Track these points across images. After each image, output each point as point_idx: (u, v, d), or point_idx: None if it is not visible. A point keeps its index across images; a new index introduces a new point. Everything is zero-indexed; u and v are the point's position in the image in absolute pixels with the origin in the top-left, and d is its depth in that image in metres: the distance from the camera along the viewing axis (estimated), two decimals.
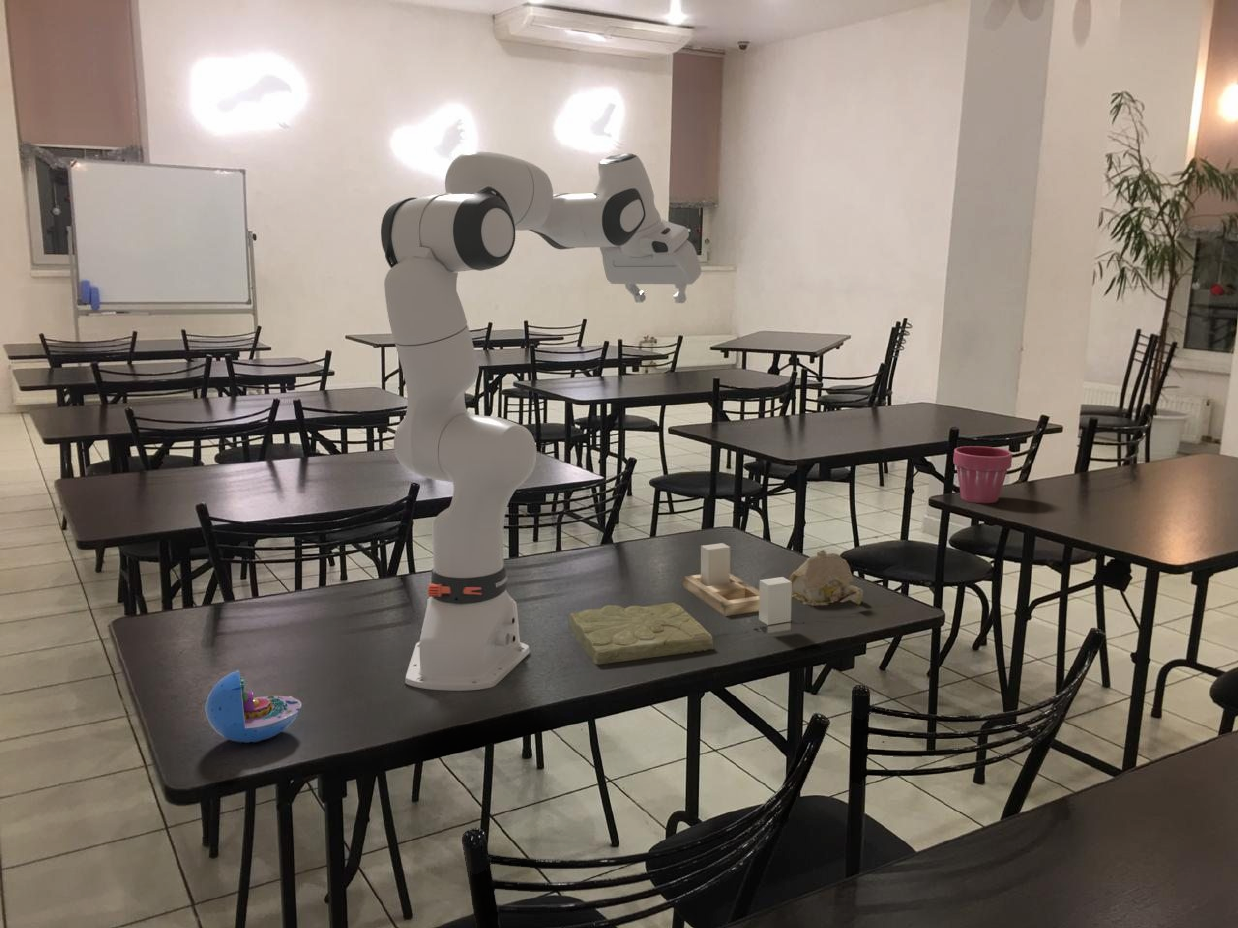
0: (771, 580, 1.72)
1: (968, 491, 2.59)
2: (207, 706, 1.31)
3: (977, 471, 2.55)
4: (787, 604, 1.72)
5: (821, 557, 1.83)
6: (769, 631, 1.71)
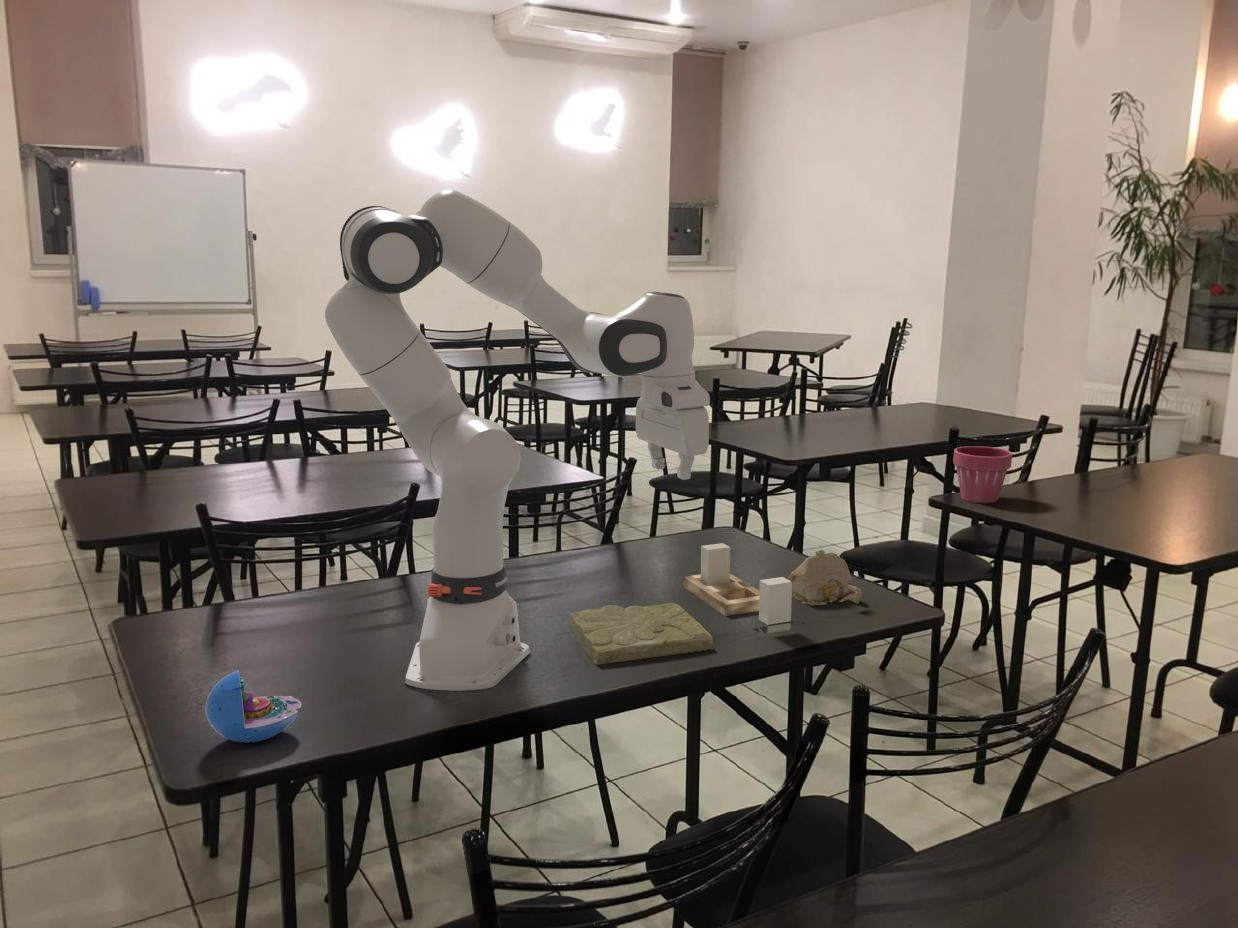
0: (771, 580, 1.72)
1: (968, 491, 2.59)
2: (207, 706, 1.31)
3: (977, 471, 2.55)
4: (787, 604, 1.72)
5: (820, 557, 1.84)
6: (769, 631, 1.71)
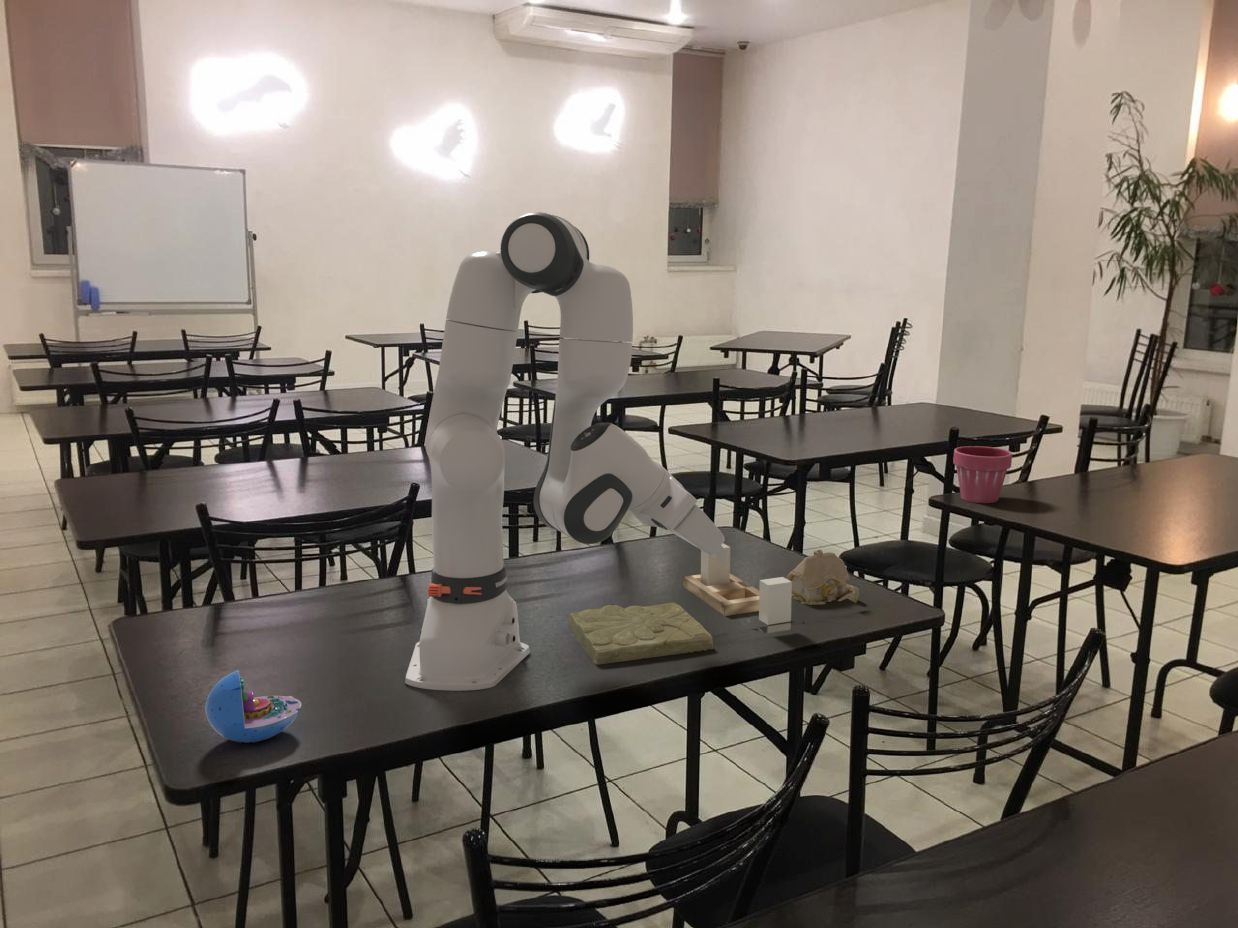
0: (771, 580, 1.72)
1: (968, 491, 2.59)
2: (207, 706, 1.31)
3: (977, 471, 2.55)
4: (787, 604, 1.72)
5: (818, 556, 1.84)
6: (769, 631, 1.71)
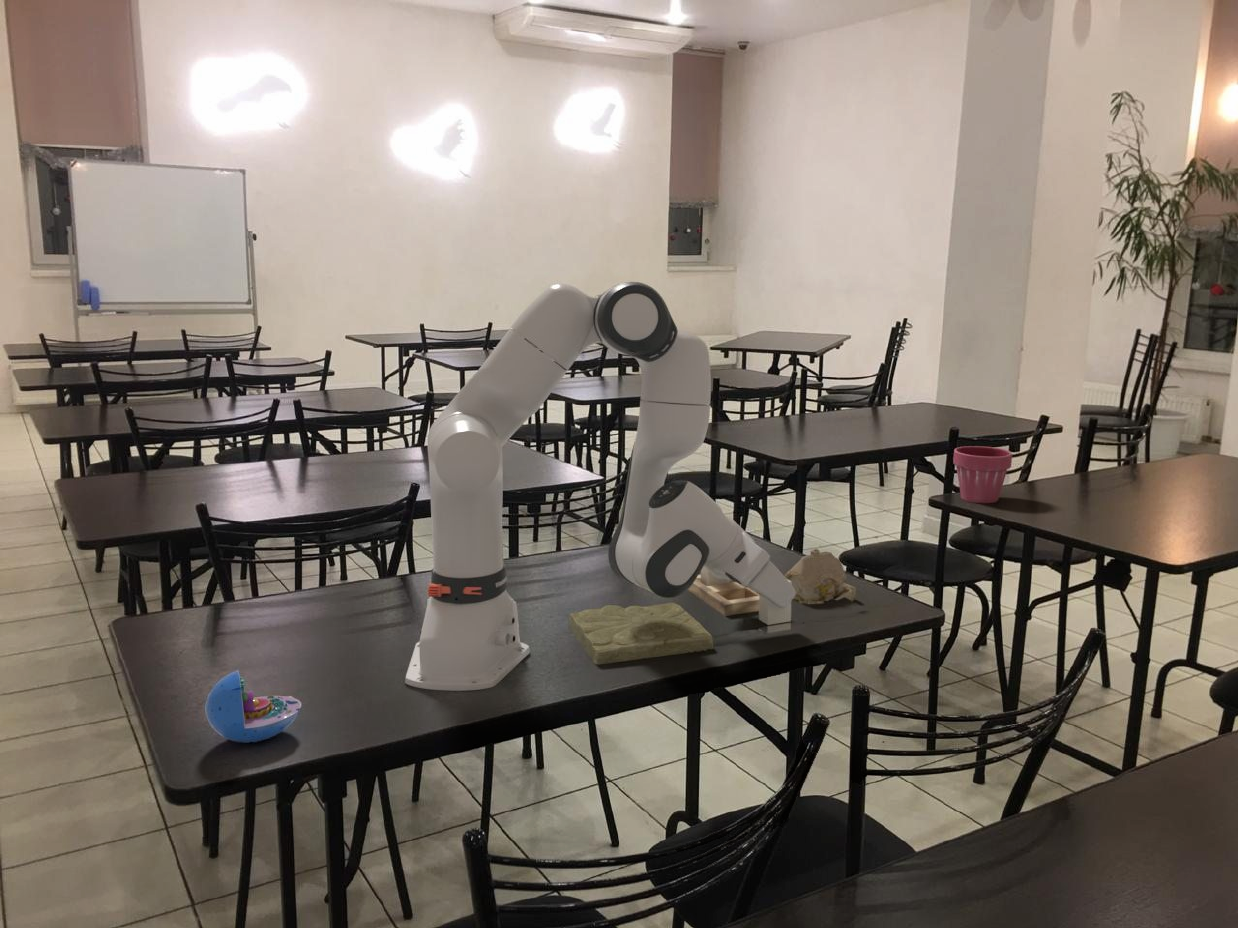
0: None
1: (968, 491, 2.59)
2: (207, 706, 1.31)
3: (977, 471, 2.55)
4: None
5: (815, 556, 1.84)
6: (769, 631, 1.71)
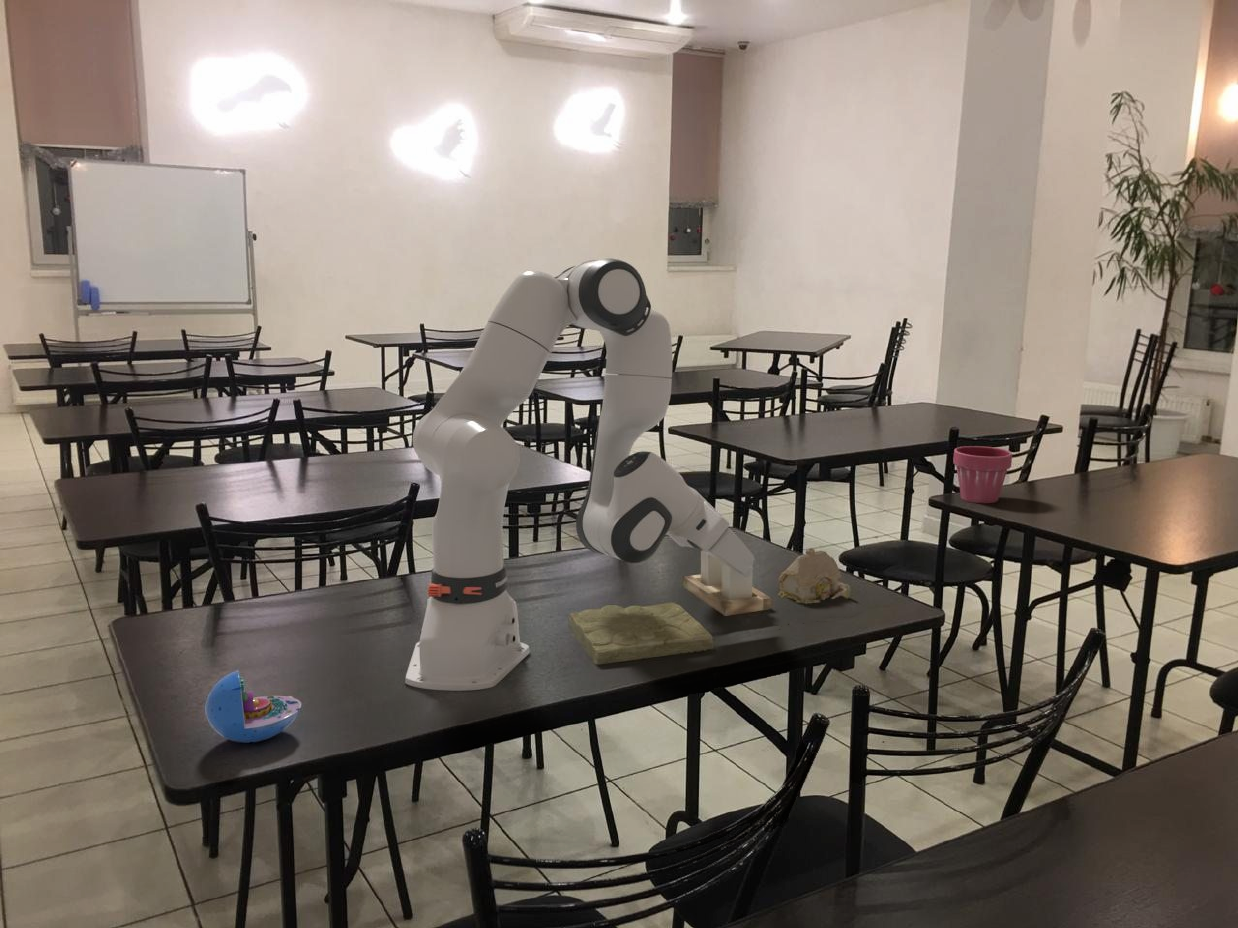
0: None
1: (968, 491, 2.59)
2: (207, 706, 1.31)
3: (977, 471, 2.55)
4: (748, 581, 1.79)
5: (810, 555, 1.85)
6: None
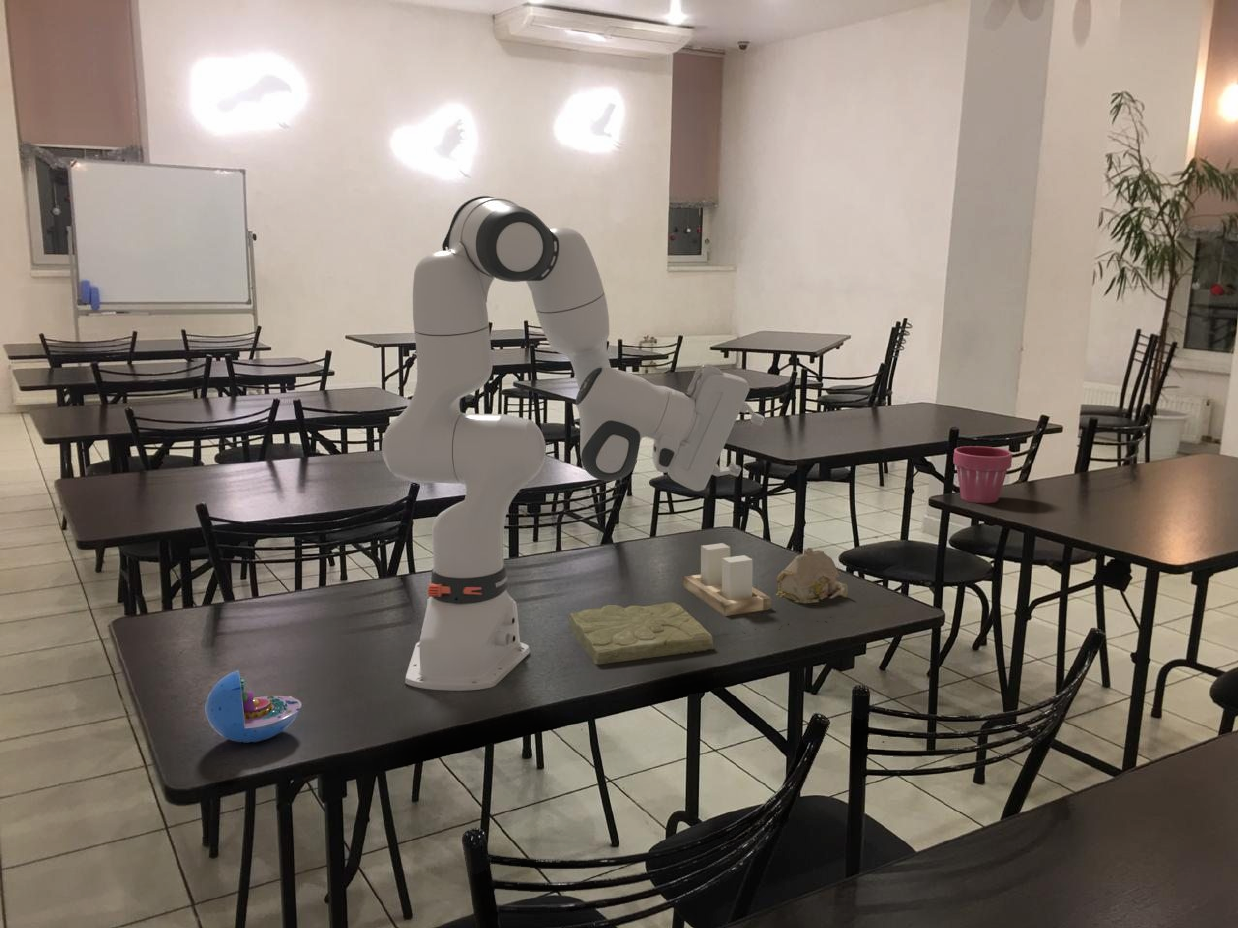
0: (733, 558, 1.79)
1: (968, 491, 2.59)
2: (207, 706, 1.31)
3: (977, 471, 2.55)
4: (748, 581, 1.79)
5: (808, 555, 1.85)
6: None
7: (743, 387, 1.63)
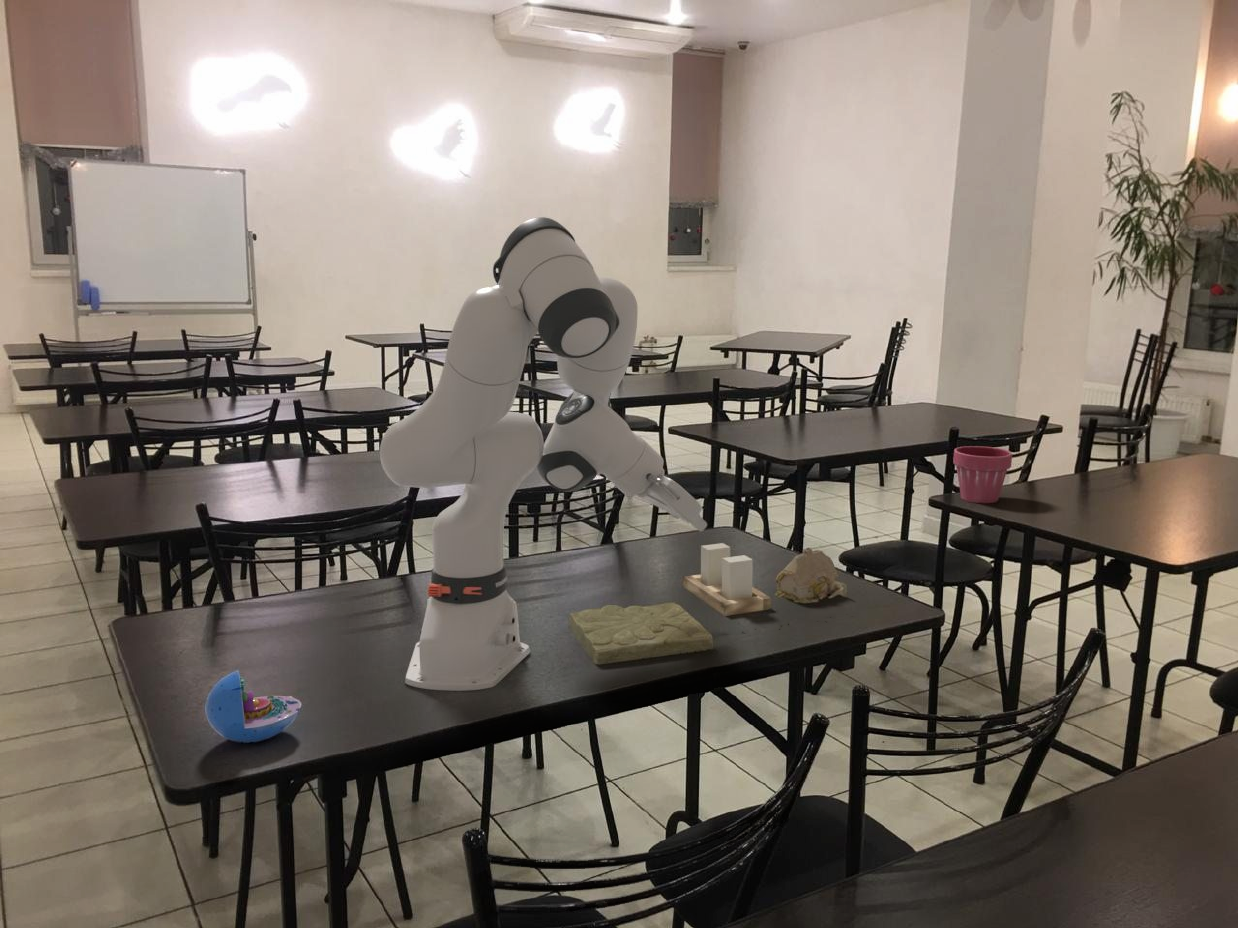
0: (733, 558, 1.79)
1: (968, 491, 2.59)
2: (207, 706, 1.31)
3: (977, 471, 2.55)
4: (748, 581, 1.79)
5: (808, 554, 1.85)
6: None
7: (684, 520, 1.63)
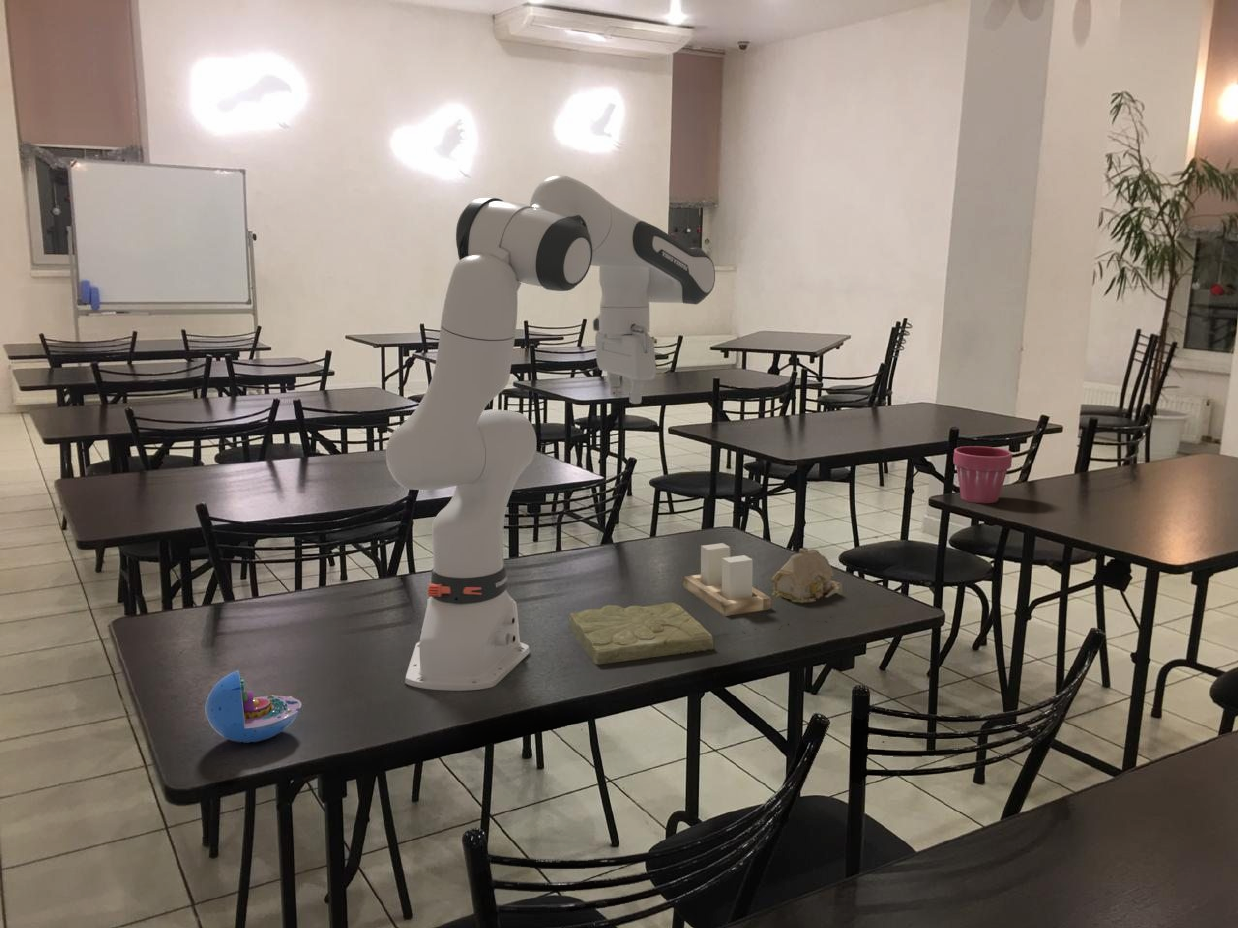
0: (733, 558, 1.79)
1: (968, 491, 2.59)
2: (207, 706, 1.31)
3: (977, 471, 2.55)
4: (748, 581, 1.79)
5: (804, 554, 1.85)
6: None
7: (635, 373, 1.73)
